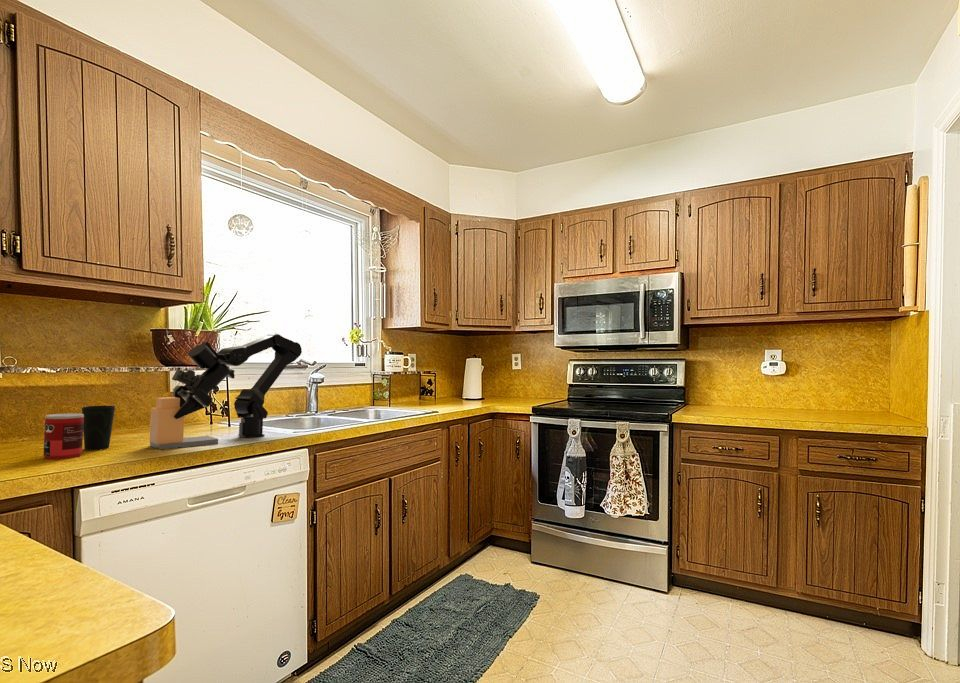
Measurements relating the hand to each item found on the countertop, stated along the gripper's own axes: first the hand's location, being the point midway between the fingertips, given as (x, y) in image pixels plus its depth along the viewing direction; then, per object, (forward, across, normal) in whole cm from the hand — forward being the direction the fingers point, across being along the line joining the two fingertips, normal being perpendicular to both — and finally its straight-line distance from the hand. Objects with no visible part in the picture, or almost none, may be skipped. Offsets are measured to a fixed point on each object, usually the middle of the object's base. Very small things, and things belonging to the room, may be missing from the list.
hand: (169, 416), depth 151 cm
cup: (+18, -9, -5) cm, 20 cm away
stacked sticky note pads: (+6, 0, +5) cm, 7 cm away
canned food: (+24, -1, -11) cm, 26 cm away
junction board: (+3, 0, +9) cm, 10 cm away
